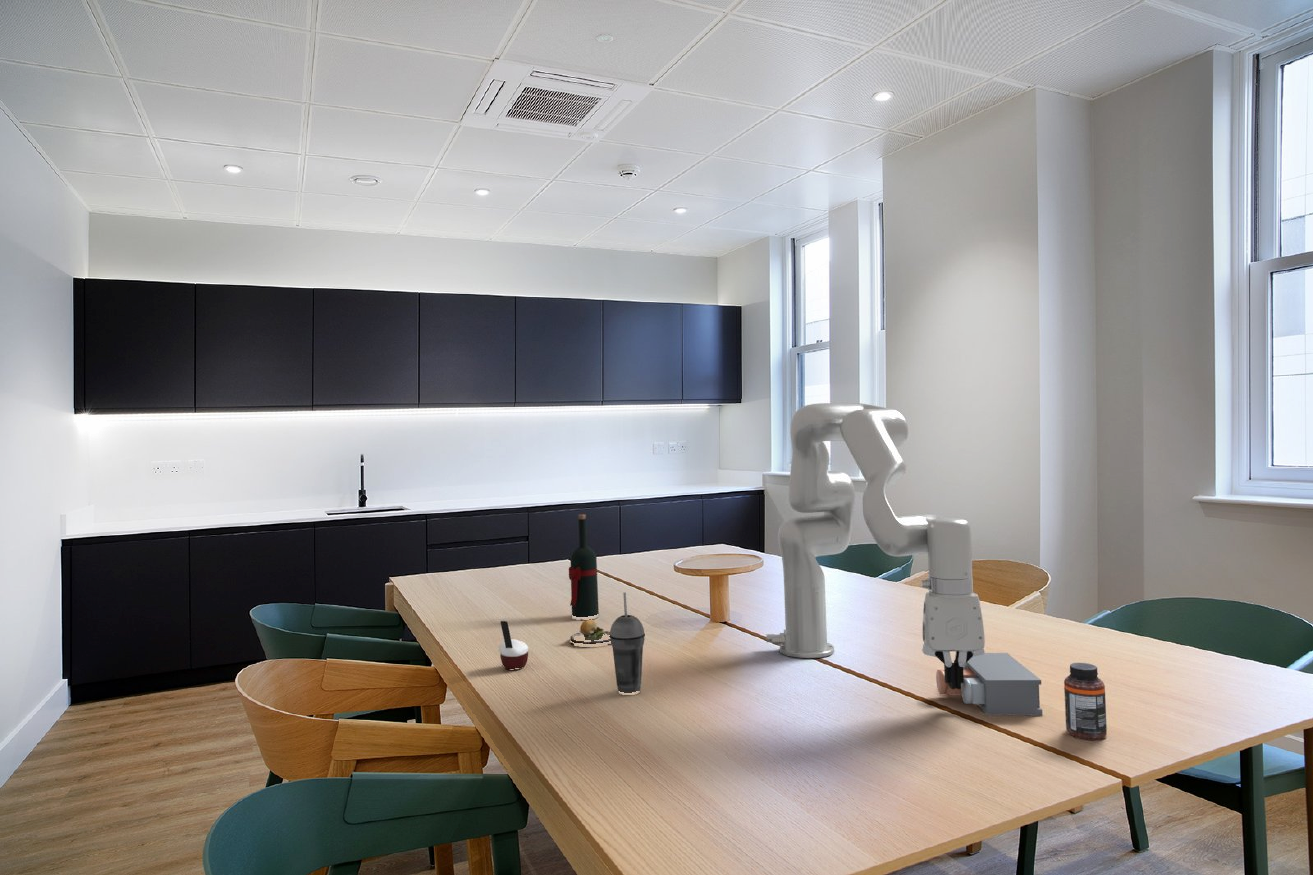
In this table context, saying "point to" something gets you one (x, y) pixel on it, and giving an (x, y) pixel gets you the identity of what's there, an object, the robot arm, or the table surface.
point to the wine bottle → (583, 576)
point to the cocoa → (512, 650)
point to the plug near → (973, 691)
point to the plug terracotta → (944, 686)
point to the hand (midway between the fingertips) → (954, 686)
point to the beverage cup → (627, 651)
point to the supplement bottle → (1085, 702)
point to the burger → (590, 633)
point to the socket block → (1006, 685)
